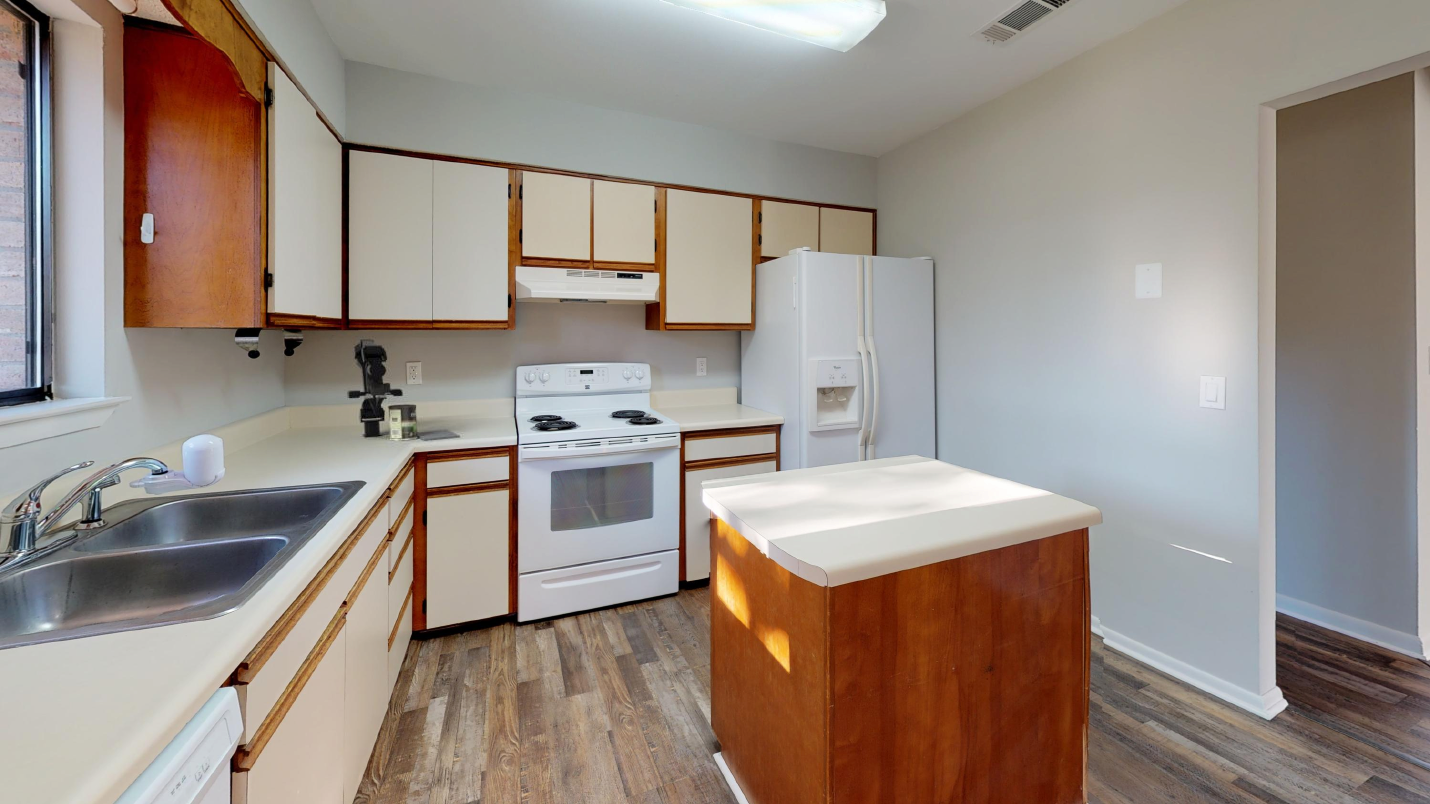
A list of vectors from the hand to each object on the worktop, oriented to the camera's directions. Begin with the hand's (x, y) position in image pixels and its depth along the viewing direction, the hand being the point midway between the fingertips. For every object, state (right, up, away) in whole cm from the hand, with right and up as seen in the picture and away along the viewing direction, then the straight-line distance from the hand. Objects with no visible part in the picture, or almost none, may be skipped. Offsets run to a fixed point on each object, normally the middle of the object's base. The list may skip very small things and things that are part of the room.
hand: (376, 414), depth 228 cm
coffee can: (+7, -11, +7) cm, 15 cm away
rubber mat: (+17, -10, +15) cm, 25 cm away
